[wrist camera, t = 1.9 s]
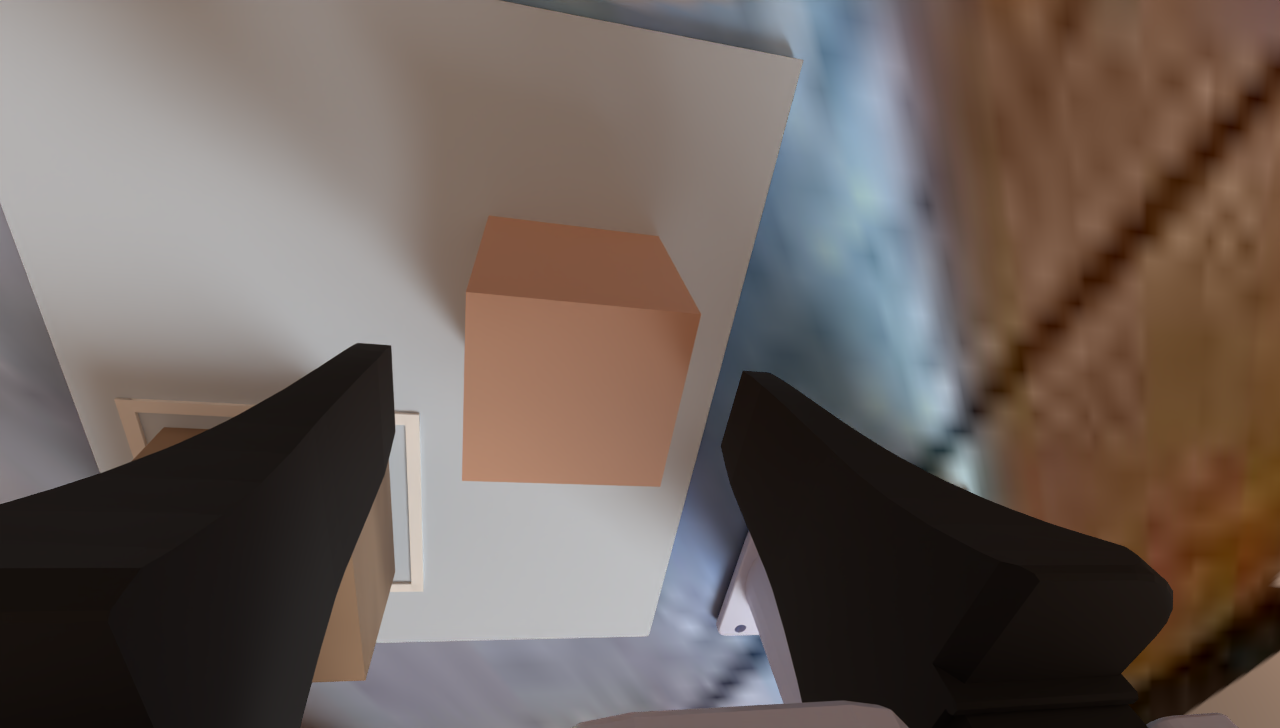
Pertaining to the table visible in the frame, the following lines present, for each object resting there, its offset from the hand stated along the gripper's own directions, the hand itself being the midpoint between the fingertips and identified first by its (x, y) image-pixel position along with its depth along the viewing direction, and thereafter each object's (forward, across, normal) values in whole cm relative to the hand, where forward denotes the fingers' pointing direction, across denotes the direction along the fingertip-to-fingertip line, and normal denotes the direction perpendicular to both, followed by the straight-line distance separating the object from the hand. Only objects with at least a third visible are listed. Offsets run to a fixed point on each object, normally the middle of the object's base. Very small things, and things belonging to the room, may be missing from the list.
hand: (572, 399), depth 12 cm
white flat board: (+6, +4, +4) cm, 8 cm away
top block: (+5, 0, 0) cm, 5 cm away
